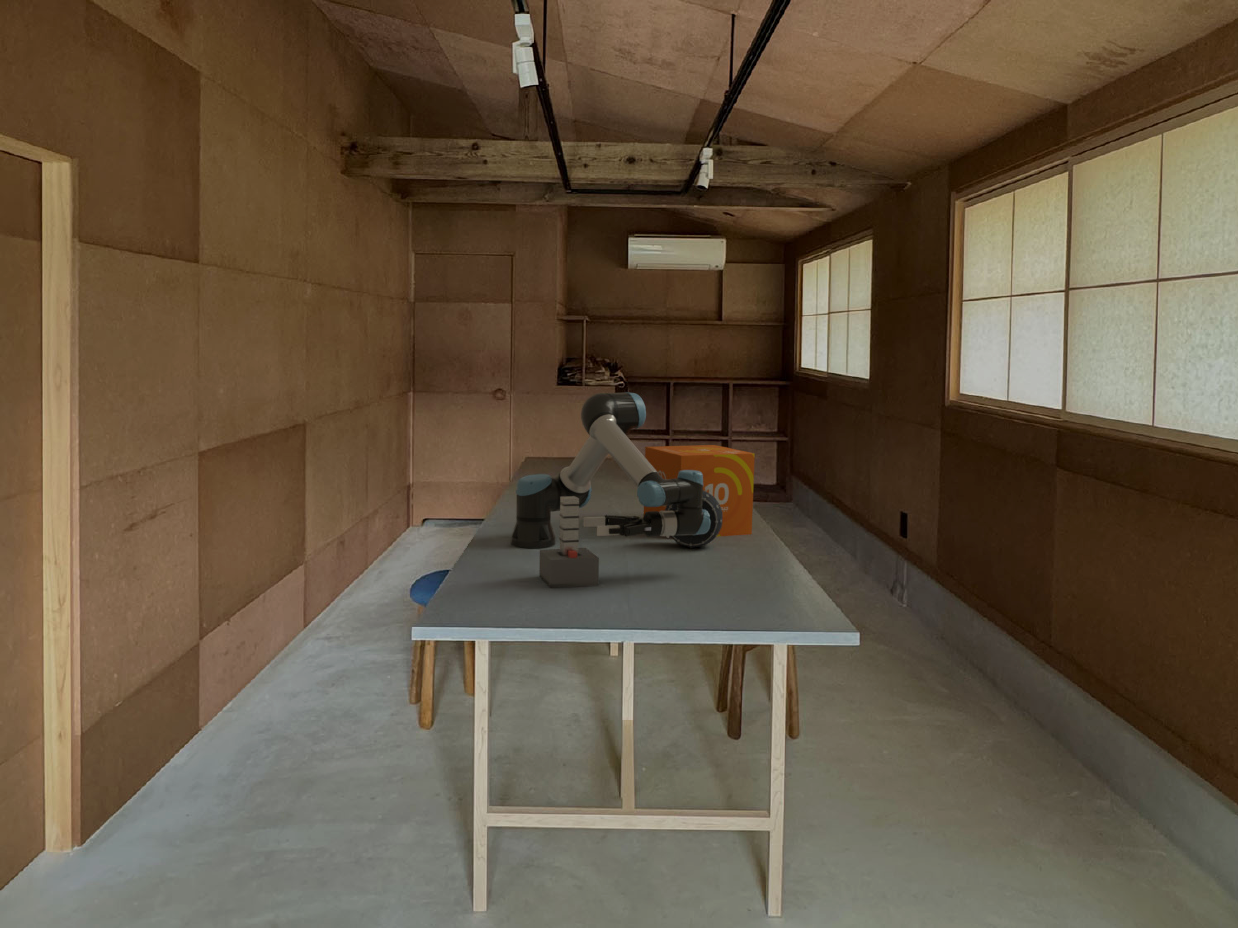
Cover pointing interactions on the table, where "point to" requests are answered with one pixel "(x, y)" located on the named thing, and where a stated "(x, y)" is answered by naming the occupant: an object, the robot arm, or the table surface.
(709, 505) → the studded black puck
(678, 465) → the box
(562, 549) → the column
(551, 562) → the stand
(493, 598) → the table surface
